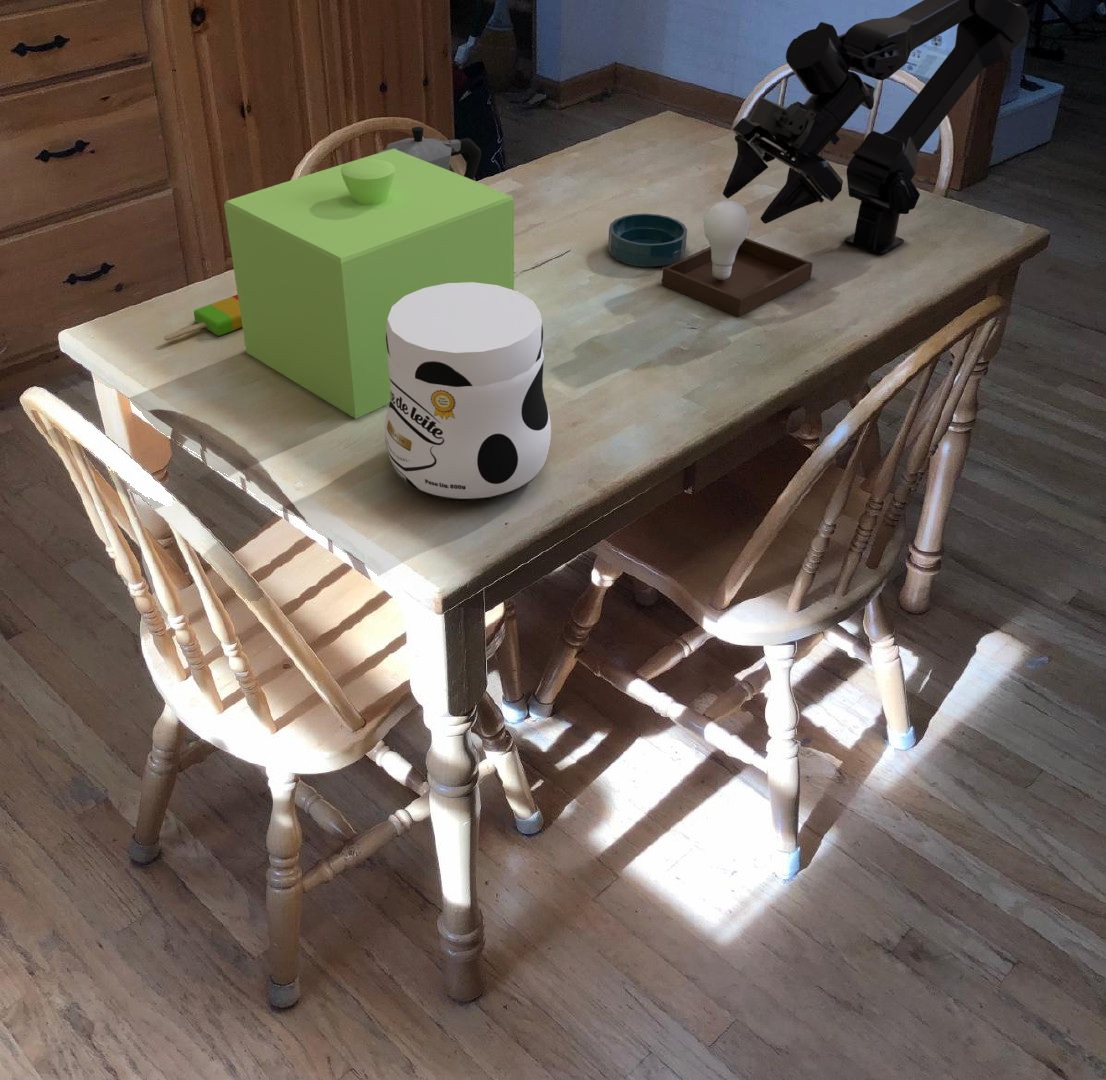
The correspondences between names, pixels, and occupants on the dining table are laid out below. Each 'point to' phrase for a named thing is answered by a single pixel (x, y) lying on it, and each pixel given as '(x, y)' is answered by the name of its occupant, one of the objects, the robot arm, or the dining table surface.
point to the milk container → (466, 391)
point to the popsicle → (215, 318)
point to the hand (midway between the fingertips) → (743, 208)
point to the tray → (738, 277)
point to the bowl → (647, 240)
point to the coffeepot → (438, 150)
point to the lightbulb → (725, 235)
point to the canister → (357, 264)
